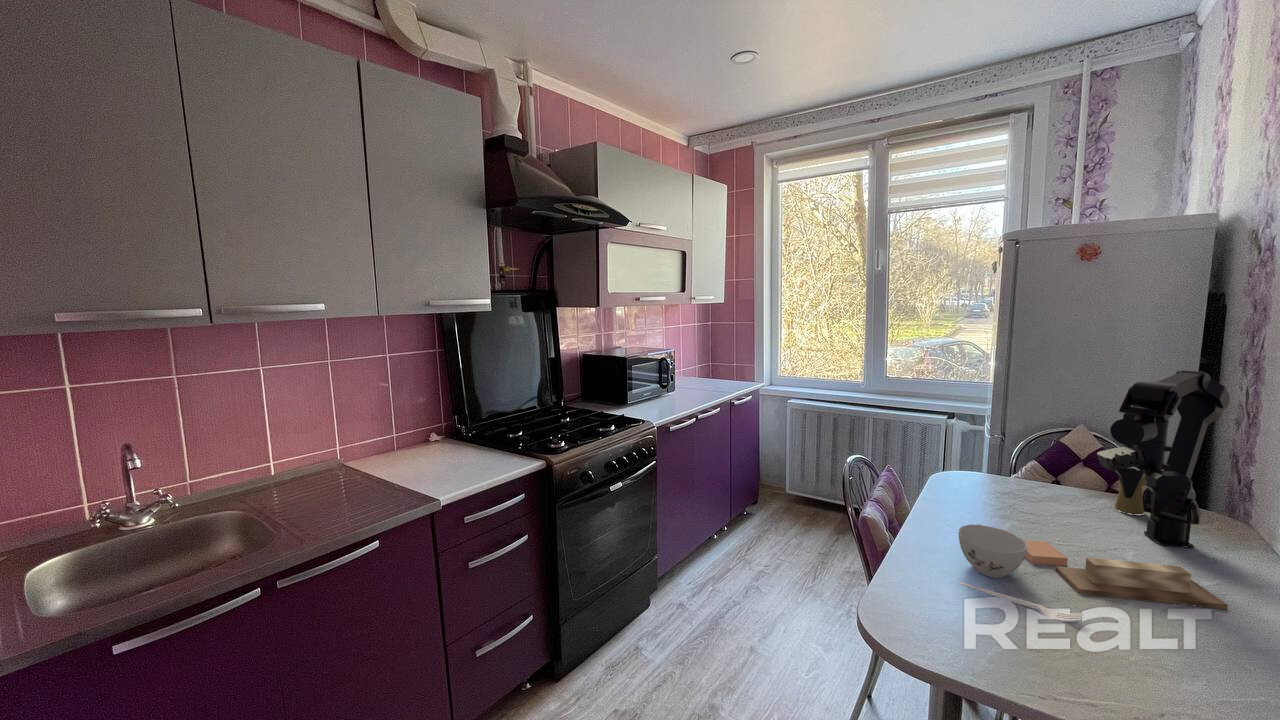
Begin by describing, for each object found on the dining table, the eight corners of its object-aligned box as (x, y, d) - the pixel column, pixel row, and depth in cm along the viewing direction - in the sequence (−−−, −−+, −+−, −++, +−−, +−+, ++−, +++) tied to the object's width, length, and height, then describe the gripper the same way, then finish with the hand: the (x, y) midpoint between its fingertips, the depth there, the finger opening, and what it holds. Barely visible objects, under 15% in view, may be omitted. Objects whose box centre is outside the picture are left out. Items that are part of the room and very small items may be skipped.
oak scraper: (1177, 584, 105) (1180, 566, 104) (1189, 593, 102) (1191, 574, 101) (1084, 575, 109) (1086, 557, 108) (1093, 583, 106) (1094, 564, 105)
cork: (1122, 514, 140) (1126, 475, 138) (1109, 506, 145) (1113, 468, 144) (1149, 517, 138) (1154, 477, 137) (1135, 508, 144) (1139, 470, 142)
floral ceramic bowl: (1007, 593, 104) (1010, 556, 103) (944, 566, 115) (946, 532, 114) (1041, 572, 112) (1044, 537, 111) (979, 548, 123) (981, 516, 122)
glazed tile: (1046, 541, 122) (1013, 539, 123) (1067, 558, 114) (1032, 555, 116) (1045, 550, 122) (1012, 548, 124) (1066, 567, 115) (1031, 565, 116)
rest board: (1190, 584, 107) (1191, 579, 106) (1227, 609, 98) (1227, 604, 98) (1055, 570, 113) (1055, 566, 113) (1078, 593, 104) (1078, 588, 104)
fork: (960, 583, 110) (961, 574, 110) (1083, 621, 96) (1084, 612, 95) (956, 589, 108) (956, 580, 107) (1081, 629, 93) (1082, 620, 93)
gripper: (1081, 426, 126) (1076, 488, 128) (1132, 448, 108) (1125, 519, 110) (1136, 429, 123) (1130, 491, 125) (1198, 452, 105) (1189, 524, 107)
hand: (1141, 505), depth 117 cm, fingers open, 9 cm apart
